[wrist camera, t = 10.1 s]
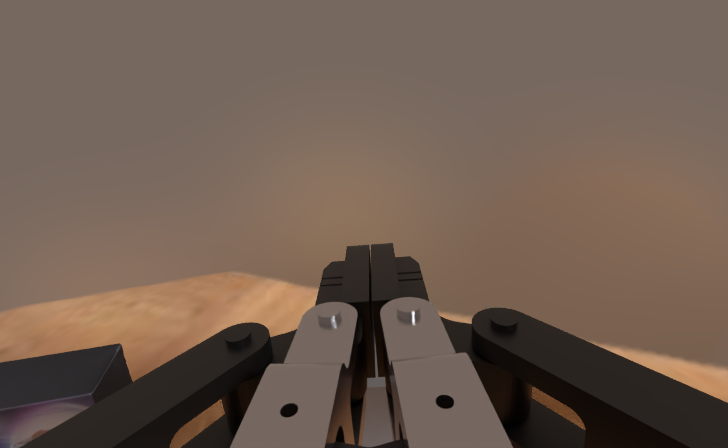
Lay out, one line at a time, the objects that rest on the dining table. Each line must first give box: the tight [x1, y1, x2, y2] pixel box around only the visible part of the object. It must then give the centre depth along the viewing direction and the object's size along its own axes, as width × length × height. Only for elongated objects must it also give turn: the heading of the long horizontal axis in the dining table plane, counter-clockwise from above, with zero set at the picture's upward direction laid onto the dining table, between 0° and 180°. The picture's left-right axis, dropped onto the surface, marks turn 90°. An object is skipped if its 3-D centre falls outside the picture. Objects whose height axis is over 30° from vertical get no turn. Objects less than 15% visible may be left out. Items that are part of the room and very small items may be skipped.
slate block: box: [362, 345, 393, 447], centre depth 34 cm, size 7×10×10 cm
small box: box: [0, 344, 132, 448], centre depth 32 cm, size 11×6×10 cm, turn 102°
